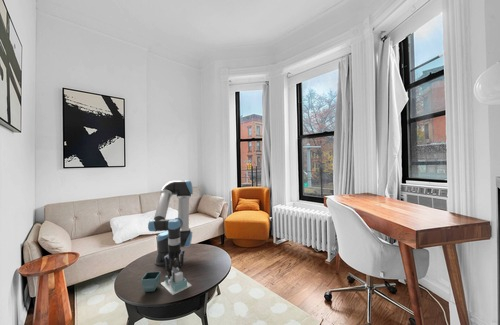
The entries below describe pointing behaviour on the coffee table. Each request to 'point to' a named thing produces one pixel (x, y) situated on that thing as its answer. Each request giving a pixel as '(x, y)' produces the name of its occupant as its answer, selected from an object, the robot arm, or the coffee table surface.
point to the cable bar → (176, 275)
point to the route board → (175, 285)
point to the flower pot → (150, 281)
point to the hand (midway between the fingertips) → (174, 279)
